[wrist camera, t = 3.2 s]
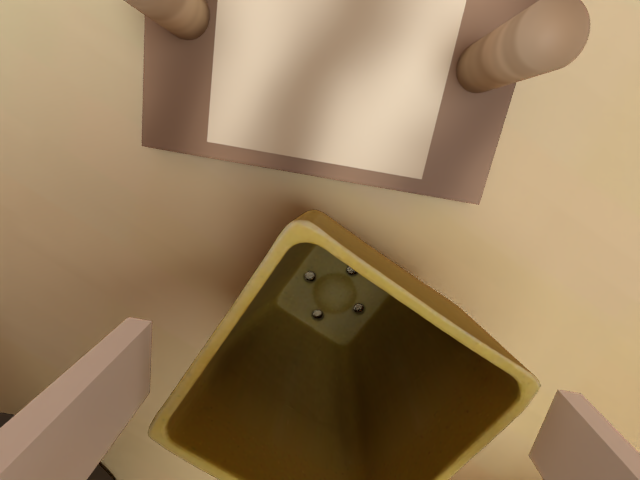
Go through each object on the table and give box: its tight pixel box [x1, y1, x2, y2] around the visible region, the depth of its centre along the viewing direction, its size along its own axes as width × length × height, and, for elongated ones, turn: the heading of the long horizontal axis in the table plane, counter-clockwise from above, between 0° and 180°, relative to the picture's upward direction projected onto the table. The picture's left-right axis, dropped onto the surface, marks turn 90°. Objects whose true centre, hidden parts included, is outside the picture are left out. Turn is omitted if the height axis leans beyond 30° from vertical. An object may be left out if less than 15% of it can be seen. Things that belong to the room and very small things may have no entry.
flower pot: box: [148, 210, 541, 480], centre depth 15 cm, size 9×9×9 cm
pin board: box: [124, 0, 590, 205], centre depth 12 cm, size 16×13×6 cm
